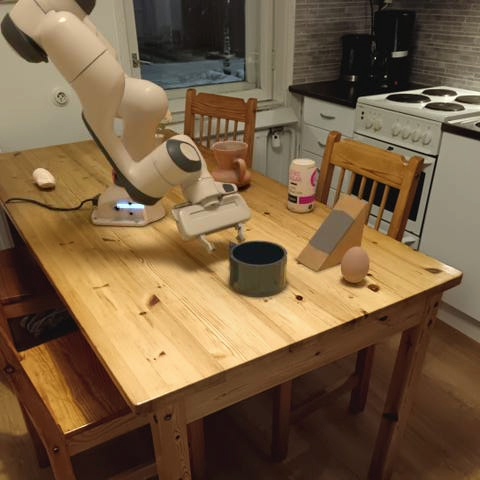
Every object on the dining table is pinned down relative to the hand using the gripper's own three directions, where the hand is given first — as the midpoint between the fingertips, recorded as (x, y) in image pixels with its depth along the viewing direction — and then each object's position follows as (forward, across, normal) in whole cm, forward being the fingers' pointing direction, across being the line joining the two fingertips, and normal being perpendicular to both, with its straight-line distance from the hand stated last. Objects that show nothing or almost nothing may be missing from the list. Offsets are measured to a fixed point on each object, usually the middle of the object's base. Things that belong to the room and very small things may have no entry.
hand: (227, 246), depth 125 cm
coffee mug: (+10, +1, -2) cm, 11 cm away
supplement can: (-8, +42, +16) cm, 46 cm away
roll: (-58, -14, +66) cm, 89 cm away
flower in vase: (-50, +27, +58) cm, 81 cm away
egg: (+22, +19, -14) cm, 32 cm away
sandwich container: (+13, +23, -5) cm, 27 cm away
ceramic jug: (-30, +38, +38) cm, 62 cm away
